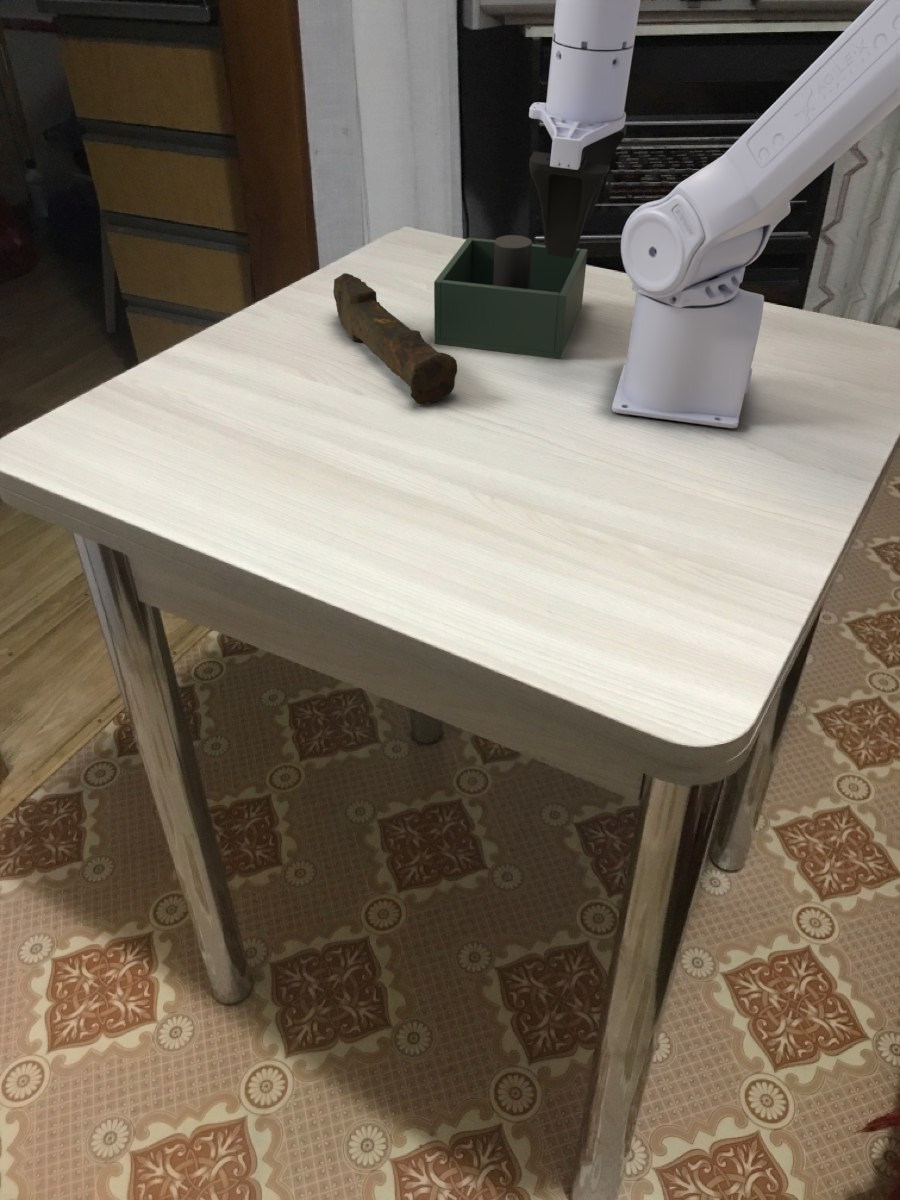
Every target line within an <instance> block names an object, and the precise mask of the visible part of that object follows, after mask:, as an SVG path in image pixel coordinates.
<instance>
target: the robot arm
mask: <svg viewBox="0 0 900 1200" xmlns="http://www.w3.org/2000/svg"><path fill="white" fill-rule="evenodd" d="M640 6H641V0H555V8H554V9H555V10H554V18H553V19H554V20H553V29H552V39H551V51H550V60H549V61H550V62H549V69H548V70H549V71H548V81H547V90H546V91H547V93H546V102H540V101H537V102H533V103H532V104H531V105H530V107H529V112H528V117H529V118H530V119H532V120H540V121H541V122H543V124H544V127H545V128H546V131H547V133H548V134H549V136H550V138H551V140H552V141H551V142H552V143H551V151H550V153H549V152H543V151H534V152H533V153H532V154H531V156H530V157H529V165H528V166H529V173H530V176H531V177H532V180H533V182H534V185H535V188H536V191H537V194H538V199H539V202H540V208H541V216H542V217H541V218H542V226H543V237H544V238H543V239H544V245H545V247H546V252H547V254H548V255H553V256H560V257H567V258H573V256H574V253H575V251H576V249H577V248H578V246H579V243H580V241H581V237H582V234H583V230H584V226H585V224H589V223H590V221H591V218H592V216H593V214H594V211H595V208H596V206H597V202H598V199H599V195H600V192H601V188H602V185H603V182H604V179H605V177H606V175H608V172H609V170H610V168H611V166H610V163H611V160H612V158H613V156H614V154H615V153H616V151H617V149H618V147H619V146H620V144H621V142H622V141H623V139H624V138H625V136H626V134H627V130H628V129H627V126H626V118H627V113H626V111H625V107H626V102H627V101H626V100H627V95H628V94H627V93H628V86H629V80H630V75H631V67H632V60H633V53H634V47H635V40H636V33H637V26H638V19H639V12H640ZM899 106H900V0H873V1H872V2H871V3H870V5H869V6H867V8H865V9H864V10H863V11H862V13H861V14H859V15H858V17H856V18H855V20H854V21H852V23H850V25H849V26H848V27H847V28H846V29H845V30H844V31H843V32H842V33H841V34H840V35H839V36H838V37H837V38H836V39H835V40H834V41H833V42H832V43H831V44H830V45H829V46H827V48H826V50H824V51H823V52H822V54H821V55H819V57H817V58H816V60H814V62H812V63H811V64H810V65H809V67H808V68H807V69H806V70H805V71H804V72H803V73H801V75H800V76H799V77H798V78H797V79H796V80H795V81H794V82H793V83H792V84H791V85H790V86H789V87H788V88H787V89H786V90H785V91H784V93H782V94H781V95H780V96H779V97H778V98H777V99H776V101H775V102H773V104H772V105H770V107H769V108H768V109H766V110H765V111H764V113H762V115H761V116H760V117H759V118H757V120H756V121H755V122H754V123H753V124H751V126H750V127H749V128H748V129H747V130H746V131H745V132H744V133H743V134H742V135H741V136H740V137H739V138H738V139H737V140H736V141H735V142H734V143H733V144H732V145H731V146H730V147H729V148H728V149H727V150H726V151H725V152H724V153H723V154H722V155H721V156H719V157H718V158H717V159H715V160H714V161H712V162H711V163H709V164H707V165H705V166H704V167H702V168H701V169H699V170H697V171H696V172H695V173H693V174H692V175H690V176H689V177H687V178H684V180H683V181H682V180H681V182H679V183H677V184H676V186H675V187H674V188H673V189H672V190H671V191H670V192H669V193H668V194H667V195H665V196H664V197H662V198H660V199H657V200H653V201H649V202H646V203H644V204H641V205H639V207H637V208H636V209H635V210H633V212H632V213H631V214H630V215H629V217H628V218H627V220H626V222H625V224H624V226H623V229H622V233H621V238H620V254H621V255H620V256H621V260H622V264H623V268H624V270H625V273H626V274H627V276H628V278H629V280H630V282H631V284H632V286H631V290H632V291H633V292H635V298H634V305H633V312H632V319H631V320H632V321H631V326H630V332H629V342H628V349H627V356H626V362H625V364H624V365H623V366H622V370H621V374H620V377H619V380H618V384H617V387H616V391H615V395H614V397H613V401H612V405H611V411H612V412H613V413H616V414H622V415H628V416H629V415H631V416H635V417H636V416H637V417H644V418H652V419H659V420H667V421H674V422H682V423H688V424H694V425H695V424H696V425H703V426H711V427H717V428H718V427H720V428H725V429H736V428H738V426H739V423H740V416H741V411H742V408H743V402H744V399H745V395H746V393H748V392H749V389H750V385H751V382H752V376H753V375H752V374H753V368H752V366H753V365H752V364H753V361H754V356H755V352H756V347H757V343H758V339H759V334H760V330H761V329H760V327H761V324H762V318H763V312H764V305H765V296H764V295H763V294H760V293H757V292H752V291H747V290H745V289H742V288H740V284H742V283H743V279H744V276H745V271H746V267H747V266H749V265H751V264H752V263H753V262H755V261H756V260H757V259H758V258H760V256H761V255H762V253H763V251H764V250H765V248H766V246H767V244H768V241H769V240H770V236H771V234H772V233H773V231H774V229H775V228H776V227H777V226H778V224H779V223H781V221H782V220H784V219H785V218H786V217H788V215H790V213H791V202H790V201H792V200H793V199H794V198H795V197H796V196H797V195H798V194H799V193H801V191H803V190H804V189H805V188H806V187H807V186H808V185H809V184H811V183H812V182H813V181H814V180H815V179H816V178H818V177H819V176H820V175H821V174H822V173H823V172H825V171H826V170H827V169H828V168H829V167H830V166H831V165H833V164H834V163H835V162H836V161H837V160H839V158H840V157H842V156H843V155H844V154H845V153H846V152H848V150H850V149H851V148H852V147H853V146H854V145H855V144H857V143H858V142H859V141H860V140H861V139H862V138H864V136H866V135H867V134H868V133H869V132H870V131H871V130H872V129H873V128H874V127H876V126H877V125H878V124H879V123H881V122H882V121H883V120H884V119H885V118H886V117H887V116H888V115H890V113H892V112H893V111H894V110H895V109H896V108H897V107H899Z"/></svg>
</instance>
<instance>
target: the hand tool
mask: <svg viewBox="0 0 900 1200" xmlns="http://www.w3.org/2000/svg"><path fill="white" fill-rule="evenodd" d="M332 292H333V299H334V301H335V306H336V311H337V316H338V319H339V322H340V324H341V326H342V328H343V329H344V330H345V332H346V333H347V336H348V337H349V338H350V339H351V341H355V342H362V343H363V344H364V345H365V346H366V347H367V348H368V349H369V351H370V352H371V353H372V354H373V355H375V356H376V357H378V359H380V360H381V361H382V362H383V363H384V364H385V366H386V367H387V368H388V369H390V371H391V372H392V373H393V374H394V375H396V376H397V377H399V379H400V380H401V381H403V382H404V383H406V385H407V386H408V387H410V397H411V398H412V400H413V401H414V402H415V403H416V404H417V405H419V406H423V405H427V404H433V403H435V402H438V401H440V400H442V399H444V398H446V397H448V396H449V395H450V394H451V393H452V391H453V390H454V388H455V384H456V376H457V374H458V363H457V360H456V358H455V357H454V356H452V355H451V354H448V353H446V352H440V351H438V350H436V348H434V347H433V346H432V345H431V344H429V343H428V342H426V341H425V340H424V338H423V336H422V334H421V331H419V330H414V329H411V328H410V327H408V326H407V325H406V324H405V323H403V322H402V321H401V320H399V318H397V317H396V316H395V315H393V314H392V313H391V312H389V311H388V310H387V309H386V308H384V307H383V305H381V303H380V302H379V301H378V299H377V298H378V297H377V291H375V289H373V288H372V287H370V286H368V284H367V283H366V282H365V281H362V279H361V278H359V277H357V276H354V275H353V274H351V273H346V272H344V273H342V274H341V275H339V276H337V277H336V278H334V279H333V290H332Z"/></svg>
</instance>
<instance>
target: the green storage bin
mask: <svg viewBox="0 0 900 1200" xmlns="http://www.w3.org/2000/svg"><path fill="white" fill-rule="evenodd" d="M495 240H496V239H486V238H477V237H467V238H466V239H465V241H464V242H463V243H462V244H461V246H460V247H459V249H458V250H457V251H456V252H455V253H454V255H453V257H452V258H450V260H449V262H448V263H447V264H446V266H445V267H444V268H443V269H442V271H440V273H439V274H438V276H437V277H436V279H435V280H434V281H433V300H434V301H433V303H434V305H433V307H434V309H433V312H434V313H433V314H434V315H433V316H434V319H433V320H434V321H433V322H434V344H438V345H446V346H453V347H460V348H468V349H469V348H470V349H477V350H486V351H494V352H501V353H509V354H510V353H511V354H516V355H517V354H519V355H525V356H532V357H533V356H534V357H541V358H542V357H543V358H549V359H550V358H551V359H558V360H561V359H562V357H563V355H564V352H565V349H566V347H567V345H568V342H569V339H570V337H571V335H572V332H573V331H574V328H575V325H576V323H577V320H578V318H579V316H580V313H581V311H582V307H583V301H584V300H583V299H584V290H585V282H586V281H585V280H586V270H587V261H588V260H587V259H588V252H589V251H588V249H587V248H580V247H579V248H578V247H577V249H576V251H575V253H574V256H573V258H567V257H560V256H553V255H548V254H547V252H546V247H545V244H538V243H532V252H531V268H530V284H529V289H521V288H512V287H503V286H494V285H493V275H494V246H495Z"/></svg>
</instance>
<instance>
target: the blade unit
mask: <svg viewBox="0 0 900 1200" xmlns="http://www.w3.org/2000/svg"><path fill="white" fill-rule="evenodd" d="M494 240H495V246H494V275H493V285H494V286H503V287H512V288H521V289H529V284H530V268H531V252H532V244H533V241H532V239H530V238H529V237H526V236H523V235H516V234H509V235H508V234H507V235H502V236H499V237H497V238H495V239H494Z"/></svg>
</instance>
